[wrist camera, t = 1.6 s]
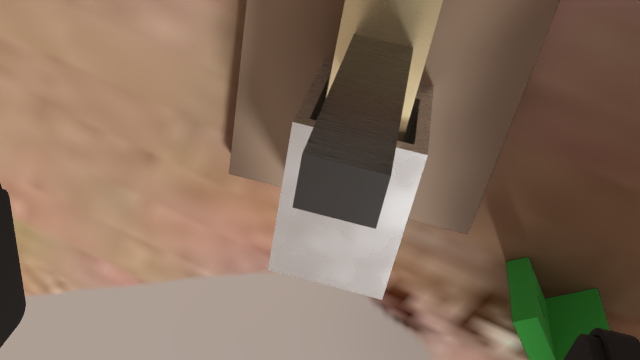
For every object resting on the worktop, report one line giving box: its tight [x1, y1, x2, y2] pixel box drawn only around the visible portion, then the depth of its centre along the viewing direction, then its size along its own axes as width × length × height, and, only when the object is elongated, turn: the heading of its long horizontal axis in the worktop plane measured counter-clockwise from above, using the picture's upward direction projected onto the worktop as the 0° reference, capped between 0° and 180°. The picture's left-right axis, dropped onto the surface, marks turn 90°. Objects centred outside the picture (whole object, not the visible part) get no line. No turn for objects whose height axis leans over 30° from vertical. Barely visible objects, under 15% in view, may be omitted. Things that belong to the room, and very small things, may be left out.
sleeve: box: [268, 60, 434, 300], centre depth 25 cm, size 5×7×6 cm
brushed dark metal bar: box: [292, 0, 443, 229], centre depth 20 cm, size 3×13×11 cm, turn 170°
